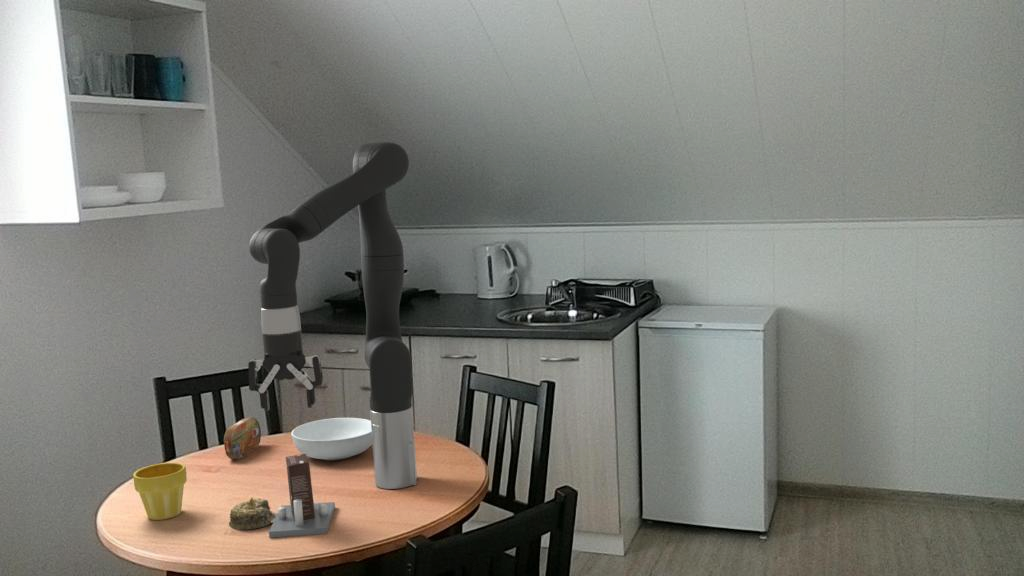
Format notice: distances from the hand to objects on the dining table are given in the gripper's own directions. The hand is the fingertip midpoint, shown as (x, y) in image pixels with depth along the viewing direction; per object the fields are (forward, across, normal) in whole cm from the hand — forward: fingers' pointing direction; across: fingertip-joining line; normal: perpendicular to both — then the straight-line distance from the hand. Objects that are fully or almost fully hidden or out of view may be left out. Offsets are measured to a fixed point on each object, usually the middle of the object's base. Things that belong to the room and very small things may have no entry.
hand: (288, 408), depth 187 cm
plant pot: (+23, +29, -8) cm, 38 cm away
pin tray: (+23, -1, +2) cm, 23 cm away
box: (+22, -1, +2) cm, 22 cm away
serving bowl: (+23, -4, -42) cm, 48 cm away
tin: (+23, +20, -48) cm, 57 cm away
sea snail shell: (+24, +9, 0) cm, 25 cm away
